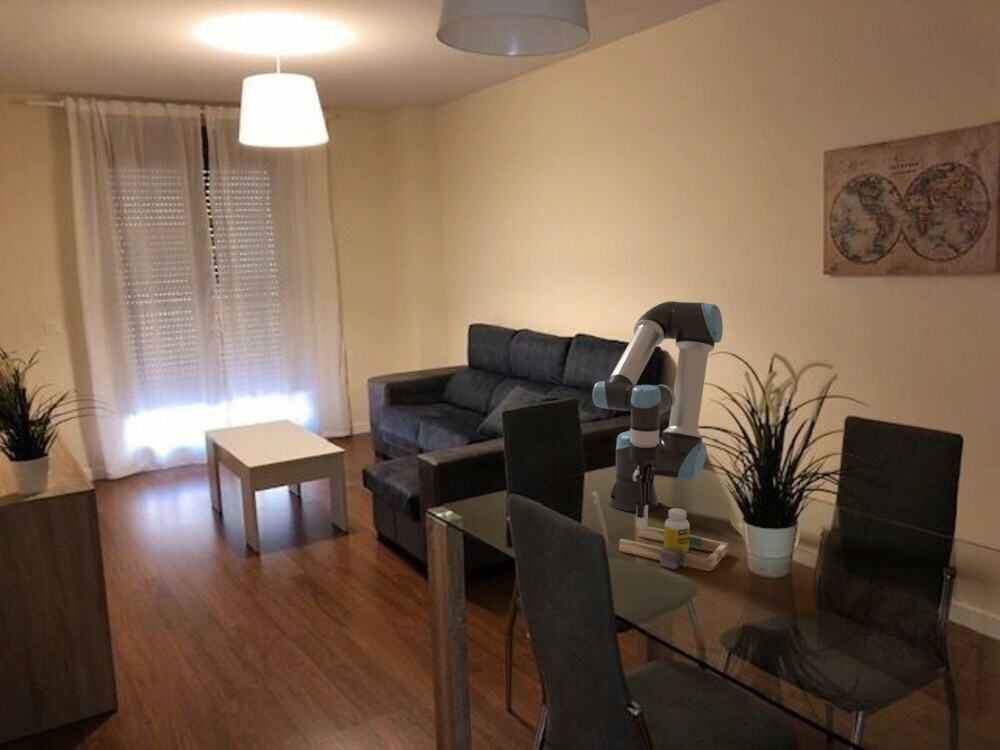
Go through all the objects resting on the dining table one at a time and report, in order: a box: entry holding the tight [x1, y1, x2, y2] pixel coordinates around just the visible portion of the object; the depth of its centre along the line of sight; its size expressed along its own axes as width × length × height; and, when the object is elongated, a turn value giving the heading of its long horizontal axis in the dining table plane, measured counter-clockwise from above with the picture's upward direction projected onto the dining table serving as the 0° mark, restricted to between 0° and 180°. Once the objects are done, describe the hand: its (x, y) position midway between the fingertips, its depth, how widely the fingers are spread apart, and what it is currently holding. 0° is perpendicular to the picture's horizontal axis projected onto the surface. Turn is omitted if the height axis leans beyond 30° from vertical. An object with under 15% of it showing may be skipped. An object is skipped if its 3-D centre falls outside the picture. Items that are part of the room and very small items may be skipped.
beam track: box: [618, 525, 729, 570], centre depth 216 cm, size 18×25×4 cm
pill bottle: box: [663, 507, 691, 554], centre depth 216 cm, size 6×6×12 cm
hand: (641, 527), depth 222 cm, fingers closed
